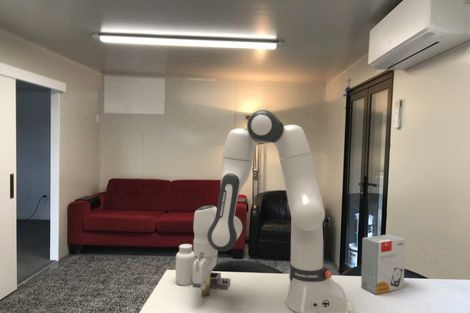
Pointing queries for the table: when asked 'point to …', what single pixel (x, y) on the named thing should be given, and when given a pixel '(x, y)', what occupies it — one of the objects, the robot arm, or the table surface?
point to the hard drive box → (382, 263)
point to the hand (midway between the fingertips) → (205, 285)
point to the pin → (205, 291)
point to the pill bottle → (184, 265)
